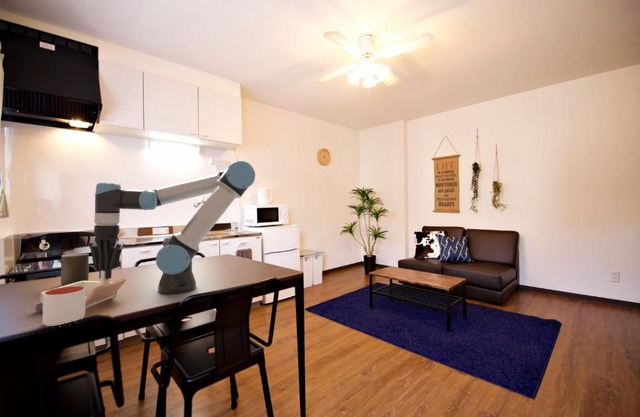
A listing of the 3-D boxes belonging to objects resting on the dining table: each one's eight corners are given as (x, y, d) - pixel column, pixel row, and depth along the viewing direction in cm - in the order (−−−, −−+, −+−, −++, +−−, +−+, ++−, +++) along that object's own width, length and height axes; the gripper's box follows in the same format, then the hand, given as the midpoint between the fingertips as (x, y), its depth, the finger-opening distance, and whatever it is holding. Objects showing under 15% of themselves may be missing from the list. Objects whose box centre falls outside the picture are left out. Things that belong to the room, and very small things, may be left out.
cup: (59, 330, 84) (60, 296, 84) (33, 326, 86) (34, 293, 86) (93, 317, 94) (93, 287, 94) (68, 314, 96) (69, 284, 96)
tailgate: (113, 295, 113) (126, 279, 112) (82, 307, 100) (96, 289, 99) (111, 293, 113) (124, 278, 112) (80, 305, 100) (94, 287, 99)
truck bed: (119, 295, 117) (119, 280, 117) (69, 314, 96) (70, 296, 96) (88, 293, 118) (88, 279, 118) (32, 312, 97) (32, 294, 97)
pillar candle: (86, 285, 130) (87, 252, 130) (58, 288, 124) (59, 254, 124) (89, 280, 138) (90, 249, 138) (63, 283, 133) (63, 251, 133)
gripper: (130, 224, 109) (128, 285, 109) (100, 223, 110) (97, 283, 110) (114, 226, 101) (112, 291, 102) (82, 224, 103) (79, 289, 103)
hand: (104, 287), depth 106 cm, fingers closed
